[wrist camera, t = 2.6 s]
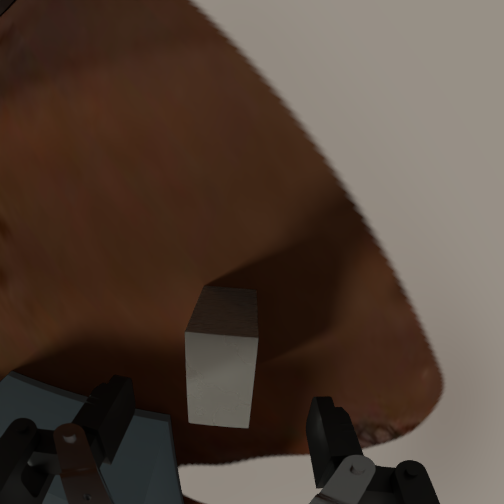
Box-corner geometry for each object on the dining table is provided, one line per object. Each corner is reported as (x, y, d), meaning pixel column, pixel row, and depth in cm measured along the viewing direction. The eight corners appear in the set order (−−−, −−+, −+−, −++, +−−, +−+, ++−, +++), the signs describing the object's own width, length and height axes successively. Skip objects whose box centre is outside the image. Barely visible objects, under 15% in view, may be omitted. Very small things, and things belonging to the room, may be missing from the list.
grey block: (203, 285, 17) (184, 331, 12) (256, 289, 17) (258, 337, 12) (202, 364, 19) (188, 422, 13) (249, 367, 19) (248, 428, 13)
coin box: (11, 370, 19) (-55, 440, 9) (170, 414, 20) (133, 540, 9) (59, 469, 23) (27, 532, 12) (184, 505, 24) (171, 585, 13)
